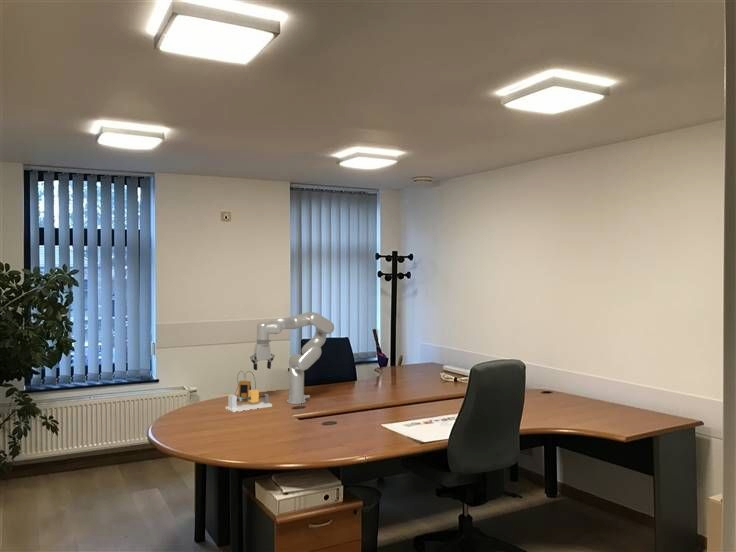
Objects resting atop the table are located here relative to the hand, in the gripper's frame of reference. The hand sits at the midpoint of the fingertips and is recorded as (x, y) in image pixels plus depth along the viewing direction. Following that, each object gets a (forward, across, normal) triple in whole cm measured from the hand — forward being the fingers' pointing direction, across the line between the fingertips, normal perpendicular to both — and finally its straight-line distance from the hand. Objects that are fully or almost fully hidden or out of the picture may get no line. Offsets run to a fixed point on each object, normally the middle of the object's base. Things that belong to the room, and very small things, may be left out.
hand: (262, 369), depth 370 cm
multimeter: (+24, 0, -21) cm, 31 cm away
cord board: (+23, +9, 0) cm, 25 cm away
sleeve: (+20, +6, 0) cm, 21 cm away
